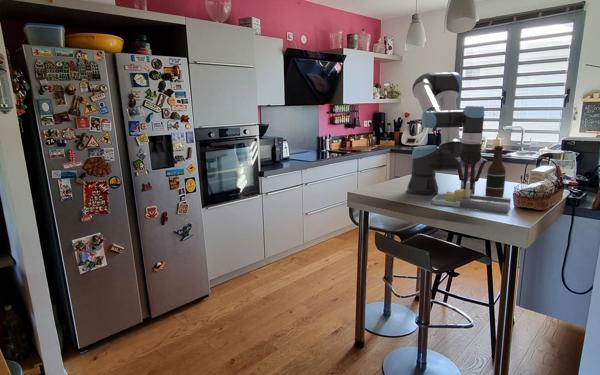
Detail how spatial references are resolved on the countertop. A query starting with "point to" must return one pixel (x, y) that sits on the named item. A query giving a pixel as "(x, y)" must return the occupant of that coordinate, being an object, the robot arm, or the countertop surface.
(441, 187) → the countertop surface
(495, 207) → the slot board
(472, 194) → the white red canister
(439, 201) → the tray
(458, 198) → the chip front
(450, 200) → the chip back
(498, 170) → the beer bottle
